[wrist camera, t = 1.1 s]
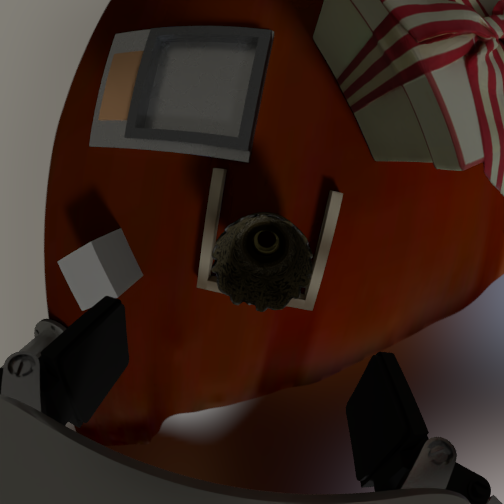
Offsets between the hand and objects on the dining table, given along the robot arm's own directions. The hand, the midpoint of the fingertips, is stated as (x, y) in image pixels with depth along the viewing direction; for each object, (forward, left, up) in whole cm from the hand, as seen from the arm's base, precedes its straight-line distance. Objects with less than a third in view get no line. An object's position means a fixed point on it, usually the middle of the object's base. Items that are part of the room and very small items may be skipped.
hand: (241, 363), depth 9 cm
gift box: (+19, -12, -19) cm, 30 cm away
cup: (0, 0, -19) cm, 19 cm away
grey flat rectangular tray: (+14, +12, -19) cm, 26 cm away
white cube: (-6, +17, -19) cm, 26 cm away
